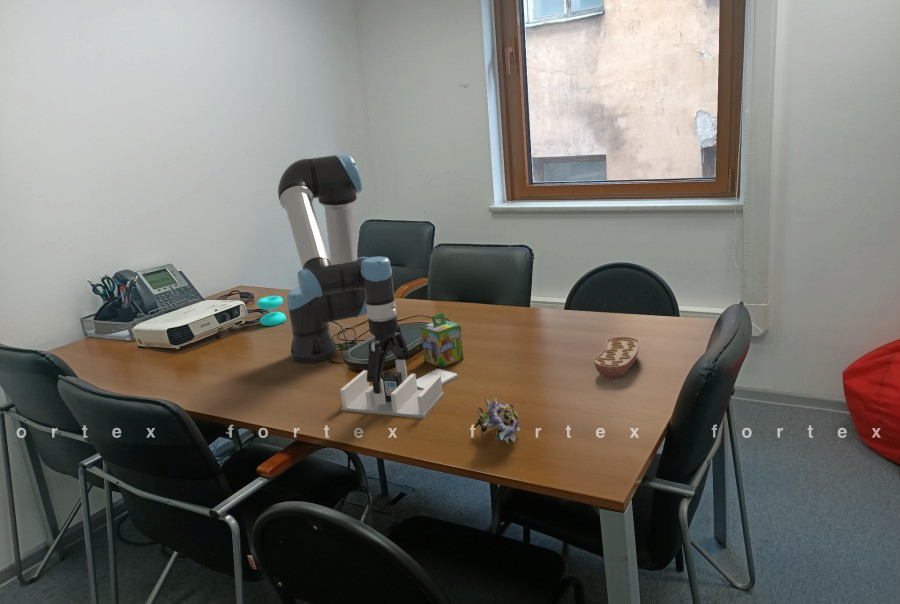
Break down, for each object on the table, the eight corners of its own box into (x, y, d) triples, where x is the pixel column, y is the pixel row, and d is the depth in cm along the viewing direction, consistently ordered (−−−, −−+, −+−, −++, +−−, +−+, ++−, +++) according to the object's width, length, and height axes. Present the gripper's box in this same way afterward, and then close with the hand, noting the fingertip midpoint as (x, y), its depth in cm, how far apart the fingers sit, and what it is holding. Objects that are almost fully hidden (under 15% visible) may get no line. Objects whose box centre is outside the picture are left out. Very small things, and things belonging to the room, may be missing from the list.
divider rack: (366, 388, 181) (363, 369, 180) (444, 394, 172) (442, 375, 171) (341, 410, 169) (338, 390, 167) (424, 418, 160) (421, 397, 158)
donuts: (262, 303, 241) (252, 299, 249) (267, 328, 244) (256, 323, 252) (286, 297, 247) (275, 293, 255) (290, 321, 250) (279, 317, 258)
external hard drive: (407, 388, 180) (437, 372, 188) (428, 395, 174) (458, 378, 183) (407, 383, 179) (436, 367, 188) (428, 389, 174) (457, 373, 183)
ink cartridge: (384, 401, 170) (380, 374, 168) (388, 398, 172) (384, 370, 170) (401, 402, 168) (397, 375, 166) (404, 399, 170) (400, 371, 168)
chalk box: (441, 368, 190) (436, 322, 186) (423, 361, 197) (418, 316, 193) (464, 359, 195) (460, 313, 191) (446, 352, 202) (441, 308, 198)
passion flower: (513, 462, 147) (511, 440, 137) (468, 450, 150) (463, 428, 140) (525, 419, 153) (524, 395, 143) (481, 409, 156) (478, 385, 146)
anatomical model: (611, 351, 191) (610, 335, 190) (644, 354, 187) (644, 338, 185) (591, 381, 172) (590, 364, 171) (628, 385, 168) (627, 368, 166)
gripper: (372, 334, 151) (383, 414, 157) (415, 302, 173) (423, 374, 179) (345, 333, 154) (357, 412, 160) (390, 302, 176) (399, 372, 182)
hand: (392, 392), depth 170 cm, fingers open, 13 cm apart
